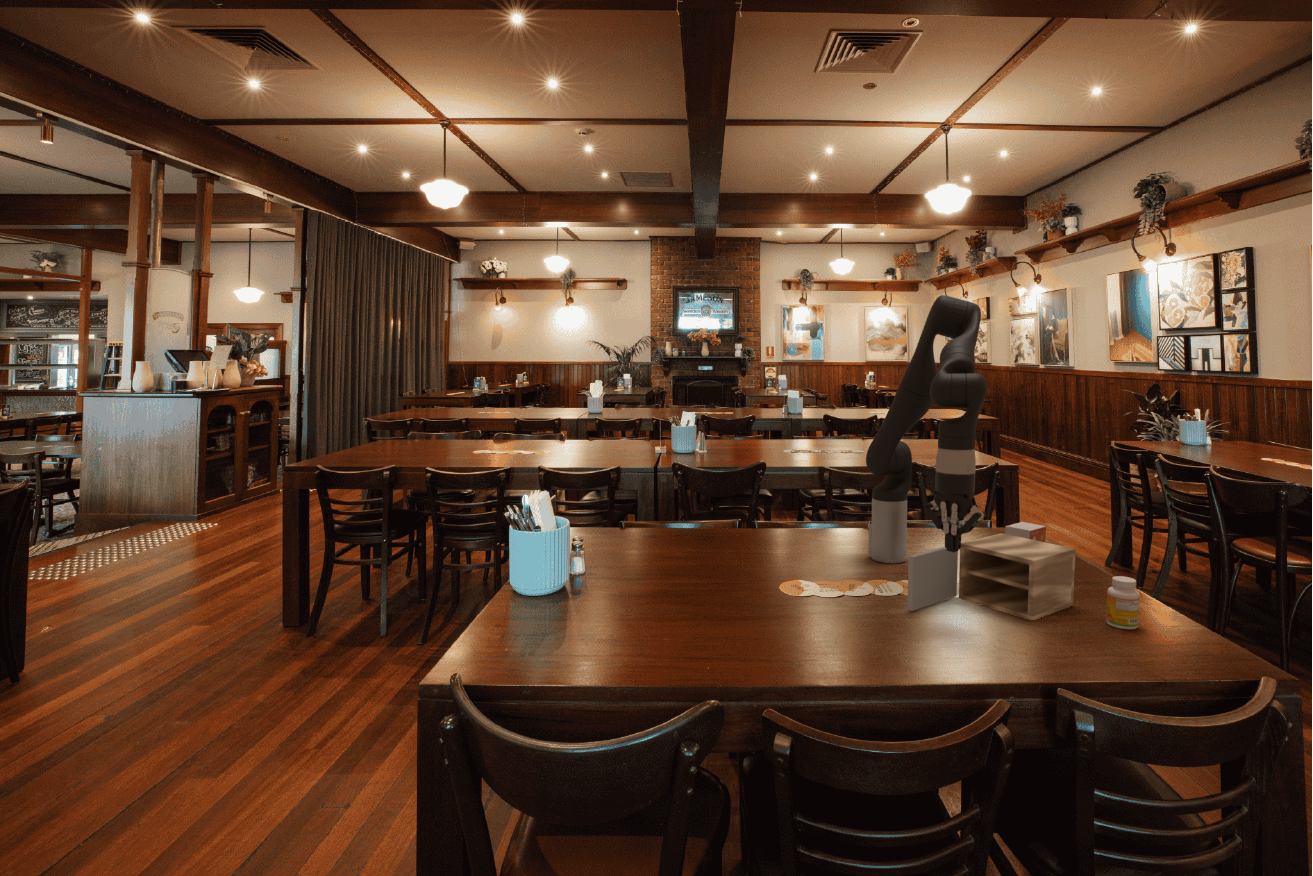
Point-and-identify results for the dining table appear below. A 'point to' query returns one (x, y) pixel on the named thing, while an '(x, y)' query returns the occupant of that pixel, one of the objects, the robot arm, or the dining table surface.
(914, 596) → the door
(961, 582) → the cabinet
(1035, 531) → the small box
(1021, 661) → the dining table surface
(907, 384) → the robot arm
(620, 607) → the dining table surface
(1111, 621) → the supplement bottle
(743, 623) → the dining table surface
